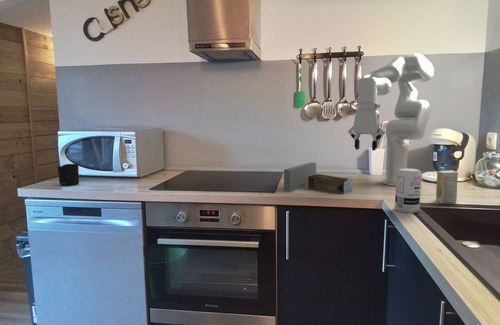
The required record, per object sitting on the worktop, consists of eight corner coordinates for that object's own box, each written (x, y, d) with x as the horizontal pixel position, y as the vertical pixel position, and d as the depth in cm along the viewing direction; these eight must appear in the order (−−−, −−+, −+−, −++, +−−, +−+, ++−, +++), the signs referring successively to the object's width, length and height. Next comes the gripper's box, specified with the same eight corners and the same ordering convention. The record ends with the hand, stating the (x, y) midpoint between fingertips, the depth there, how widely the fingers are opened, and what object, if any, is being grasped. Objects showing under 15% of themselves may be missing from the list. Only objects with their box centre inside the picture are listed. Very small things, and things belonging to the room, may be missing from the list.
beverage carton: (343, 195, 157) (344, 180, 156) (307, 189, 170) (307, 175, 169) (352, 192, 163) (353, 177, 162) (316, 186, 176) (316, 173, 175)
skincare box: (450, 200, 146) (452, 170, 144) (456, 202, 142) (459, 172, 140) (434, 200, 146) (436, 170, 144) (440, 203, 141) (442, 172, 140)
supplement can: (398, 206, 137) (400, 167, 135) (422, 209, 132) (424, 169, 130) (391, 210, 131) (393, 170, 129) (415, 214, 126) (418, 172, 124)
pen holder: (57, 184, 184) (55, 165, 182) (77, 182, 190) (75, 163, 188) (61, 187, 177) (59, 167, 175) (81, 184, 182) (80, 165, 181)
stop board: (315, 182, 185) (316, 162, 183) (289, 192, 162) (289, 170, 161) (310, 181, 187) (310, 162, 185) (283, 191, 164) (283, 169, 162)
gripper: (390, 107, 150) (388, 150, 153) (350, 107, 160) (348, 148, 162) (386, 107, 144) (384, 151, 146) (344, 107, 154) (342, 149, 156)
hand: (365, 149), depth 154 cm, fingers open, 6 cm apart
